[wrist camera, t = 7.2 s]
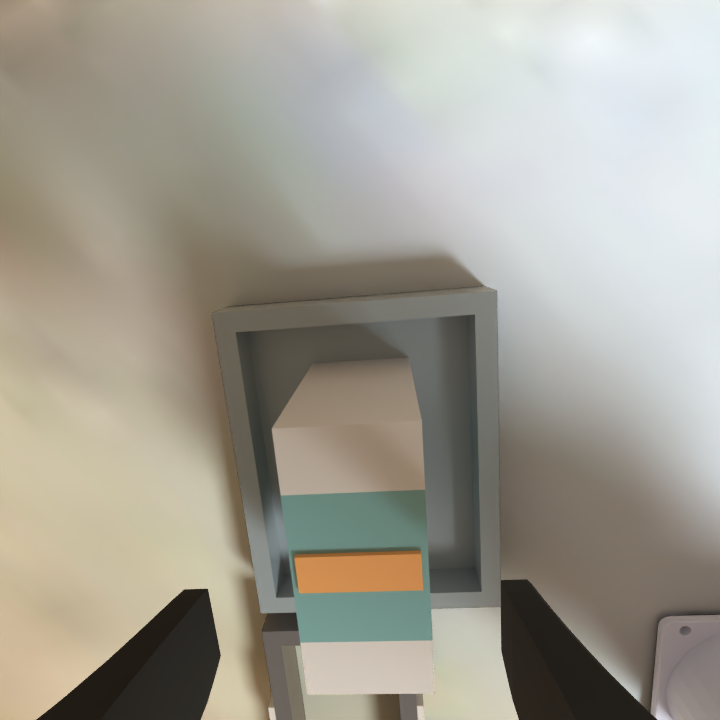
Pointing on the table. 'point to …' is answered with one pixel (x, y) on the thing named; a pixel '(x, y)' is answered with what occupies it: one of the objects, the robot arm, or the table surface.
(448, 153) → the table surface
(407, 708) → the frame
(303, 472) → the beige teal carton
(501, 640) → the robot arm
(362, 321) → the tray
